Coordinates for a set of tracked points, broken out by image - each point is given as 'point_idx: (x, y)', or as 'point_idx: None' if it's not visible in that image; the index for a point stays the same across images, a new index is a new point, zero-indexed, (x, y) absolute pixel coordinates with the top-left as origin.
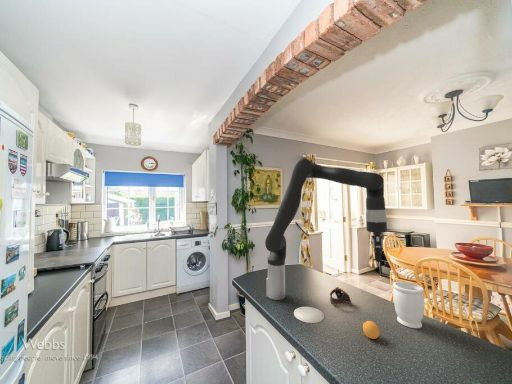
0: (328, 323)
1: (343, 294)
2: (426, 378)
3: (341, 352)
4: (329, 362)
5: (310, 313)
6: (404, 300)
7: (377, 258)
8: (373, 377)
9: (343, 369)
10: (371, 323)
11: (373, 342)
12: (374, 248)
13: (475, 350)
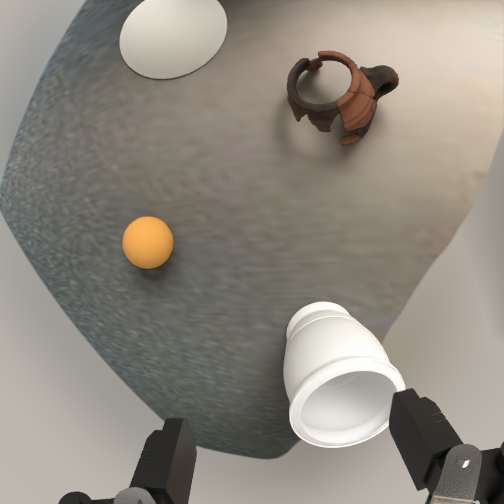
0: (152, 102)
1: (317, 107)
2: (91, 344)
3: (51, 182)
4: (15, 172)
5: (179, 32)
6: (288, 373)
7: (145, 451)
8: (30, 257)
9: (15, 202)
10: (133, 251)
11: None
12: (431, 451)
13: (261, 432)
